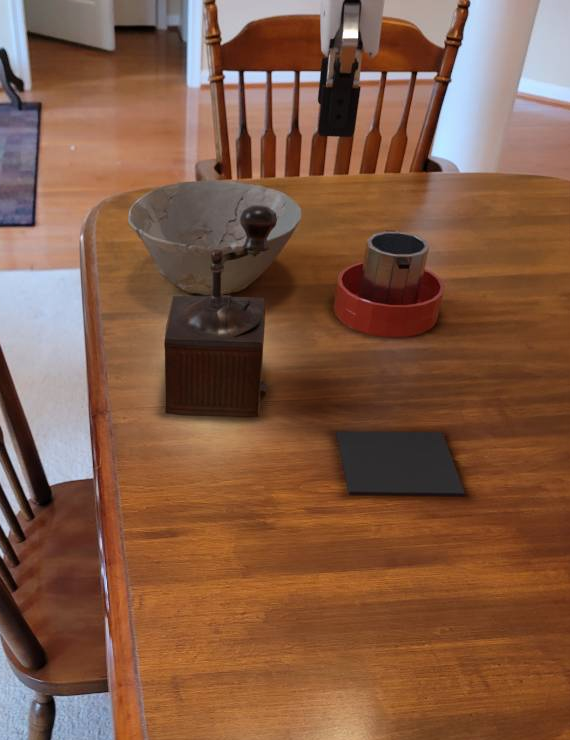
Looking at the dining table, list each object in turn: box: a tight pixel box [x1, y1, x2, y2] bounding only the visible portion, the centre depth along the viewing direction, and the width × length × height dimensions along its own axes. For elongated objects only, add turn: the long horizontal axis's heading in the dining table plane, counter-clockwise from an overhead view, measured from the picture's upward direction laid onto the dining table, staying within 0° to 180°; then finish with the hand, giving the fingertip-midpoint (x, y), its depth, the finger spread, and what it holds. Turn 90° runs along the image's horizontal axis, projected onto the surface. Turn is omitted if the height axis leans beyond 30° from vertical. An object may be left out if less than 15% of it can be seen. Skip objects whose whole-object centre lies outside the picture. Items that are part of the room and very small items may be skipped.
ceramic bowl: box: [127, 179, 302, 296], centre depth 111 cm, size 22×23×10 cm
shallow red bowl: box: [333, 261, 446, 338], centre depth 106 cm, size 13×13×4 cm
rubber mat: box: [335, 430, 466, 497], centre depth 84 cm, size 11×10×1 cm
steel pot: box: [358, 229, 430, 305], centre depth 104 cm, size 7×10×9 cm
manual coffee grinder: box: [163, 205, 277, 419], centre depth 90 cm, size 16×11×18 cm
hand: (334, 119), depth 78 cm, fingers open, 9 cm apart
